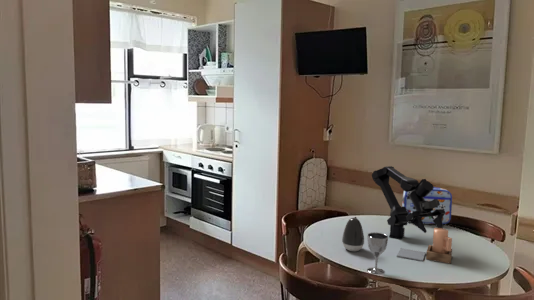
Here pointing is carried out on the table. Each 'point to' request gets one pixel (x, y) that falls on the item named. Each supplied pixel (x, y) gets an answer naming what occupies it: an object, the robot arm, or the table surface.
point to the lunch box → (436, 193)
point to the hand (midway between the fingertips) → (434, 231)
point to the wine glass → (377, 249)
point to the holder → (438, 255)
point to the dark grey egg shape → (353, 235)
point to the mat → (411, 254)
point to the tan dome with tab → (441, 241)
